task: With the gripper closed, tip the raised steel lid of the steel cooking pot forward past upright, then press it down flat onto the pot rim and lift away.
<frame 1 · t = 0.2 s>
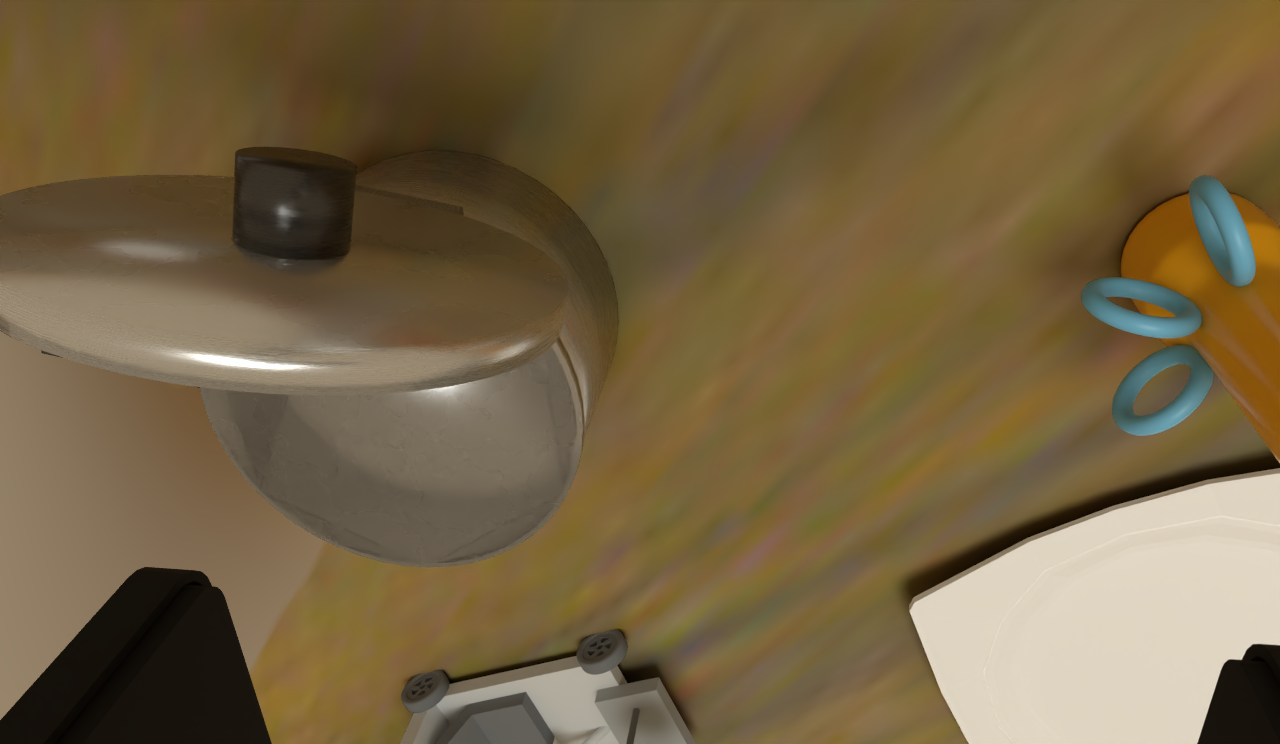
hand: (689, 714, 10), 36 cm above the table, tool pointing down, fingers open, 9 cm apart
lid: (300, 220, 29), point 18 cm above the table, hinge at 100.0°
orange blue upright piece: (1190, 253, 43), on the table
toy car: (573, 707, 63), on the table
pot: (460, 307, 50), on the table
plate: (1179, 653, 54), on the table
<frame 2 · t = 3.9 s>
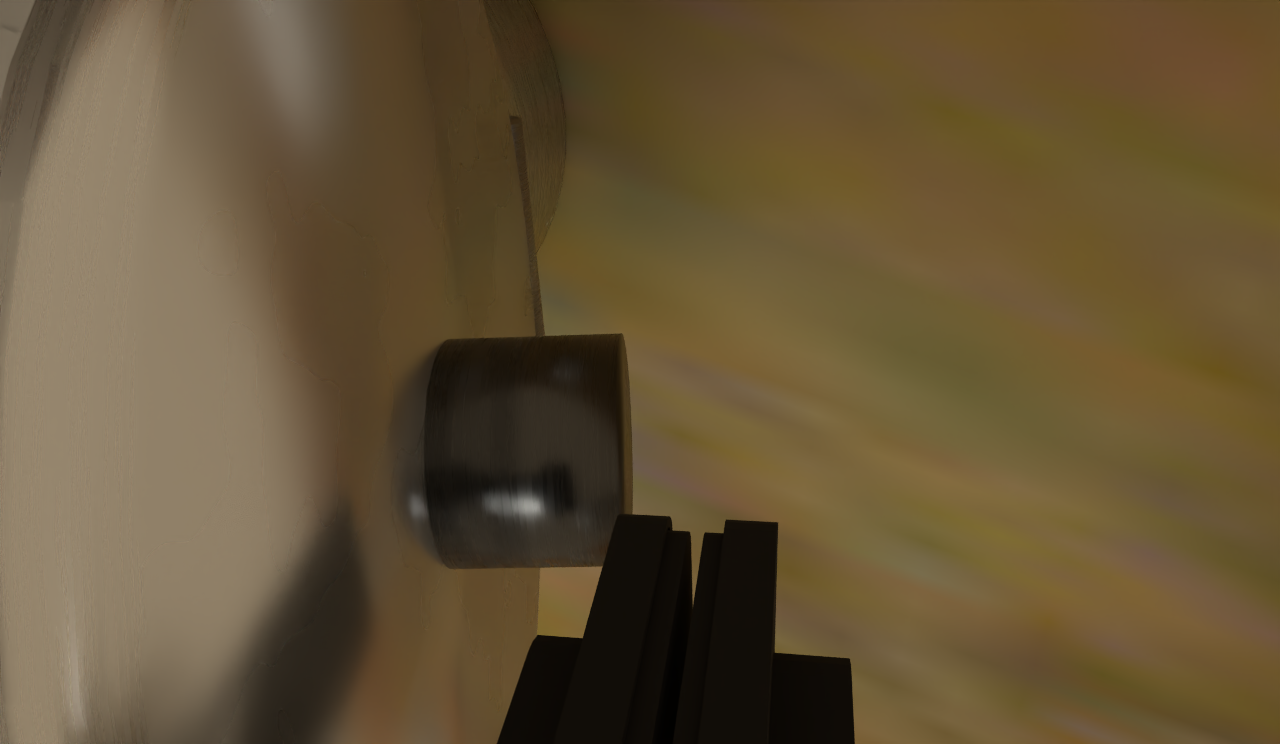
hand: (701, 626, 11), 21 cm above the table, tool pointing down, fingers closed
lid: (501, 434, 14), point 18 cm above the table, hinge at 97.2°, touching gripper
pot: (317, 119, 31), on the table
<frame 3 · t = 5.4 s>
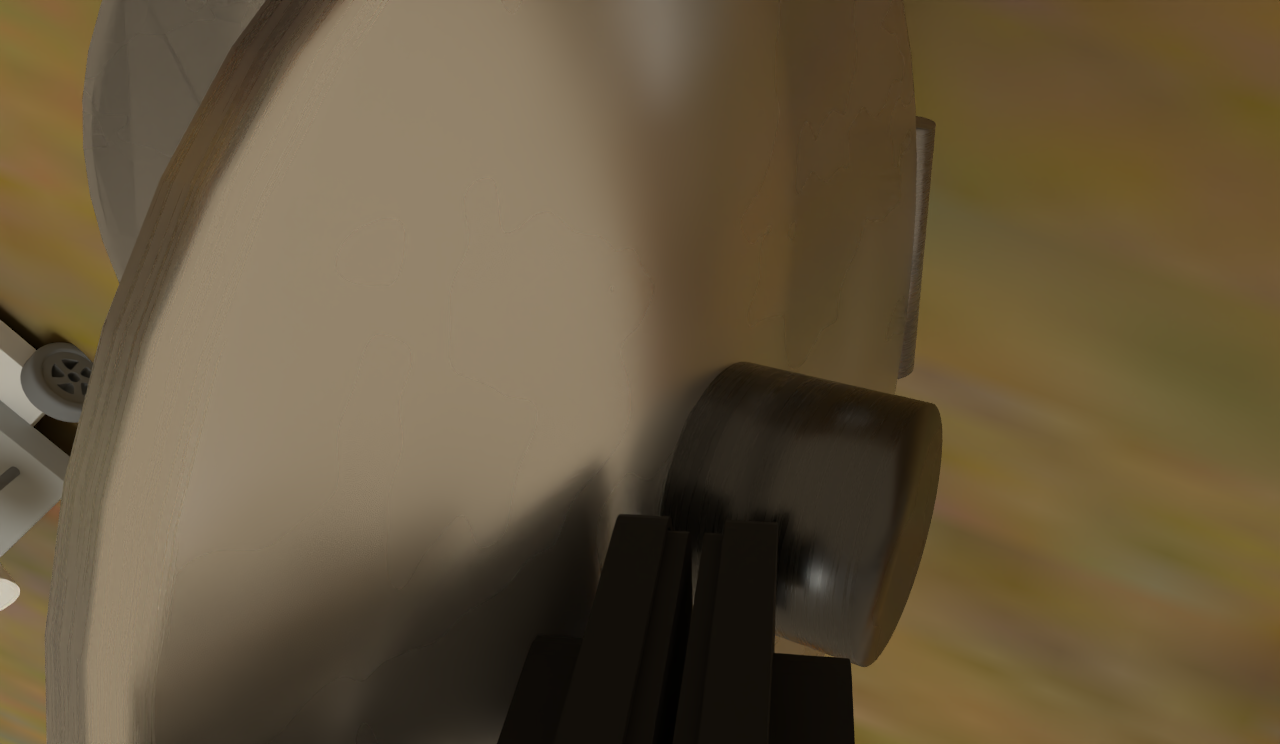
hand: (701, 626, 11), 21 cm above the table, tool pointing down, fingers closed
lid: (777, 475, 13), point 18 cm above the table, hinge at 67.2°, touching gripper
pot: (556, 116, 30), on the table
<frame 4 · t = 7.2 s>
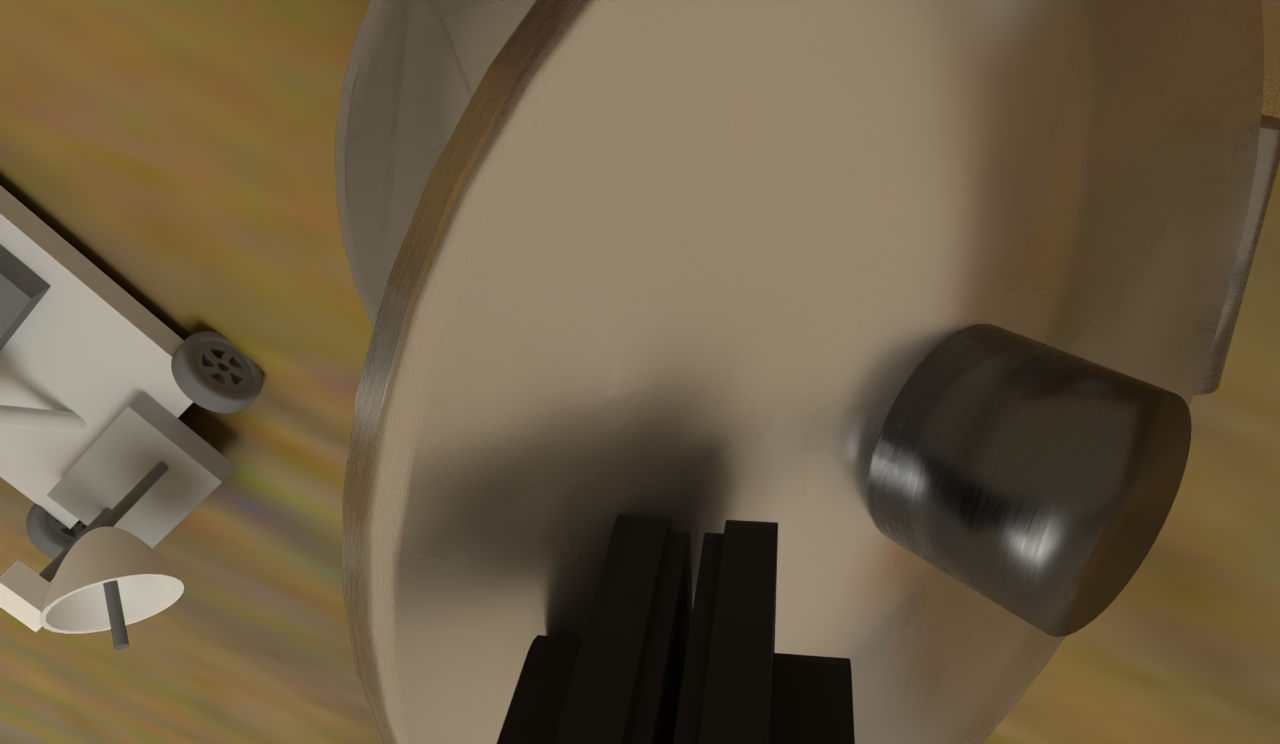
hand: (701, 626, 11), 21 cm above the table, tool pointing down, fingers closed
lid: (1006, 441, 13), point 17 cm above the table, hinge at 45.7°, touching gripper
toy car: (58, 341, 37), on the table
pot: (751, 110, 29), on the table
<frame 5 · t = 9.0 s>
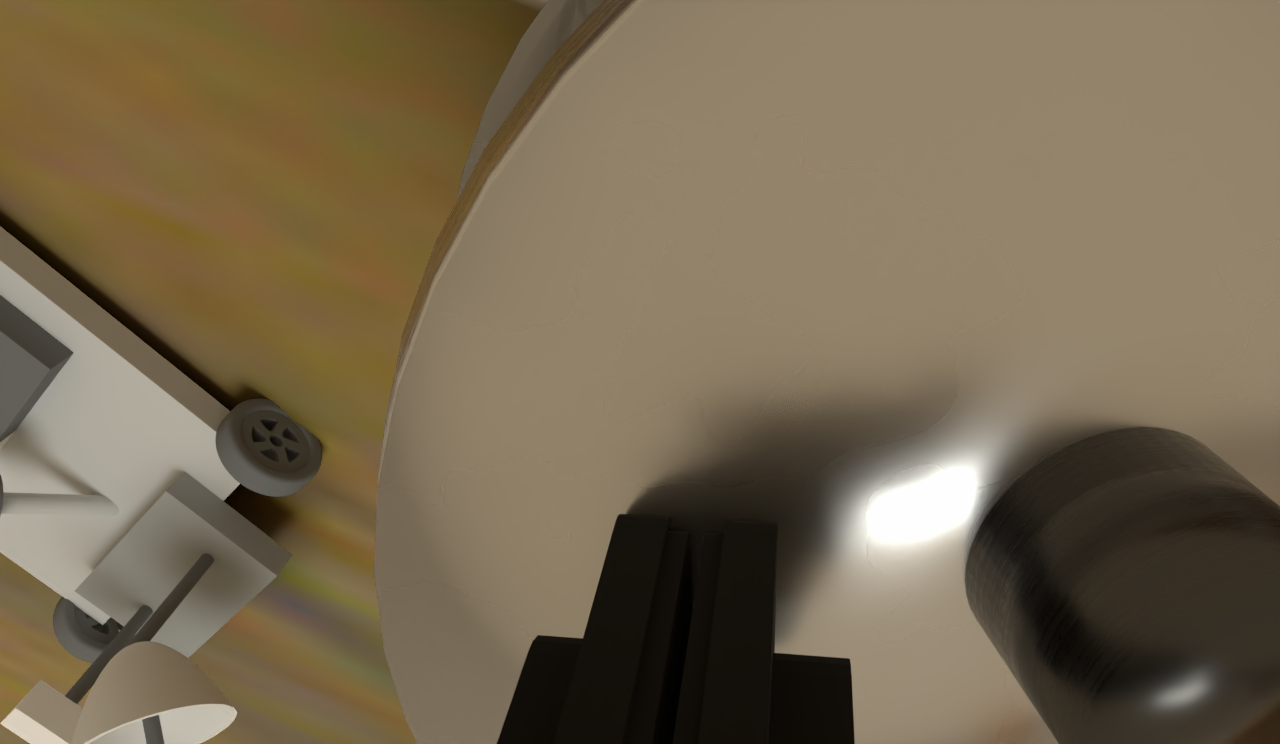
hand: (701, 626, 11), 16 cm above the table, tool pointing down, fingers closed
lid: (1167, 575, 11), point 14 cm above the table, hinge at 18.0°, touching gripper
toy car: (84, 410, 32), on the table
pot: (918, 171, 23), on the table
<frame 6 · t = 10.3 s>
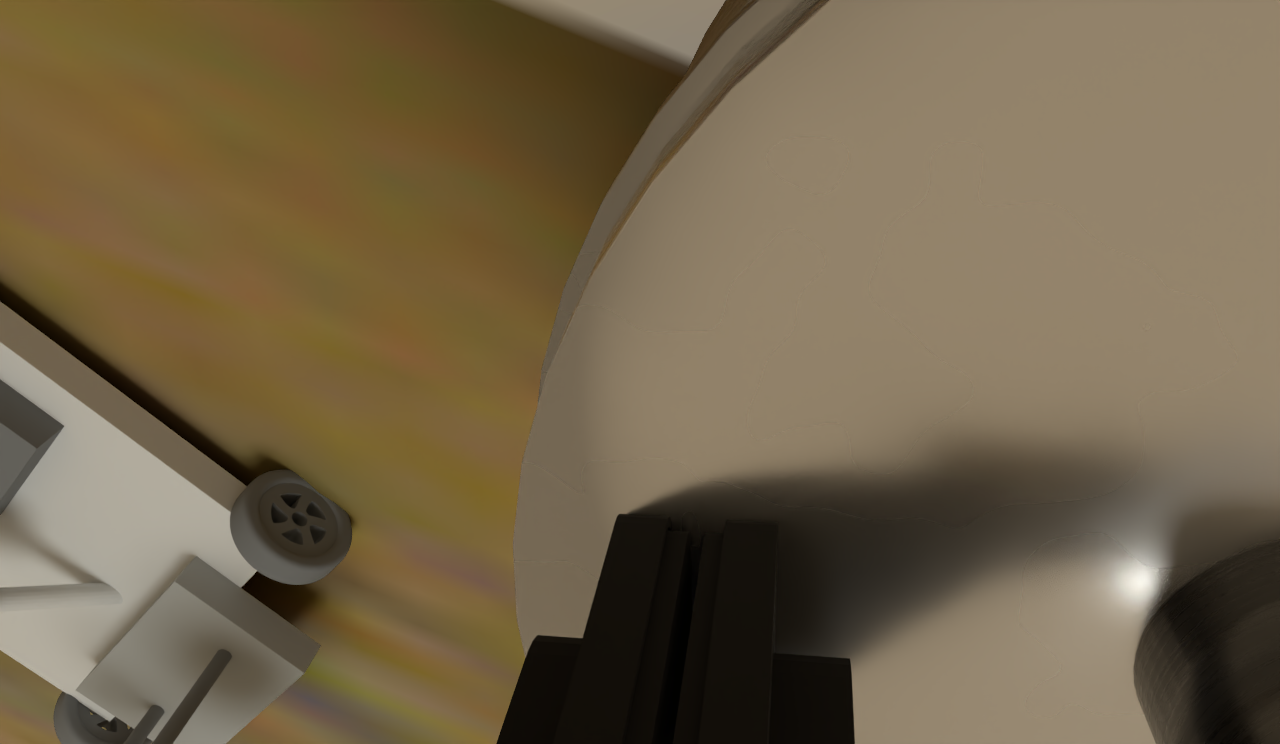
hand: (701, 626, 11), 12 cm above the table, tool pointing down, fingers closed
toy car: (82, 483, 28), on the table
pot: (1055, 234, 20), on the table
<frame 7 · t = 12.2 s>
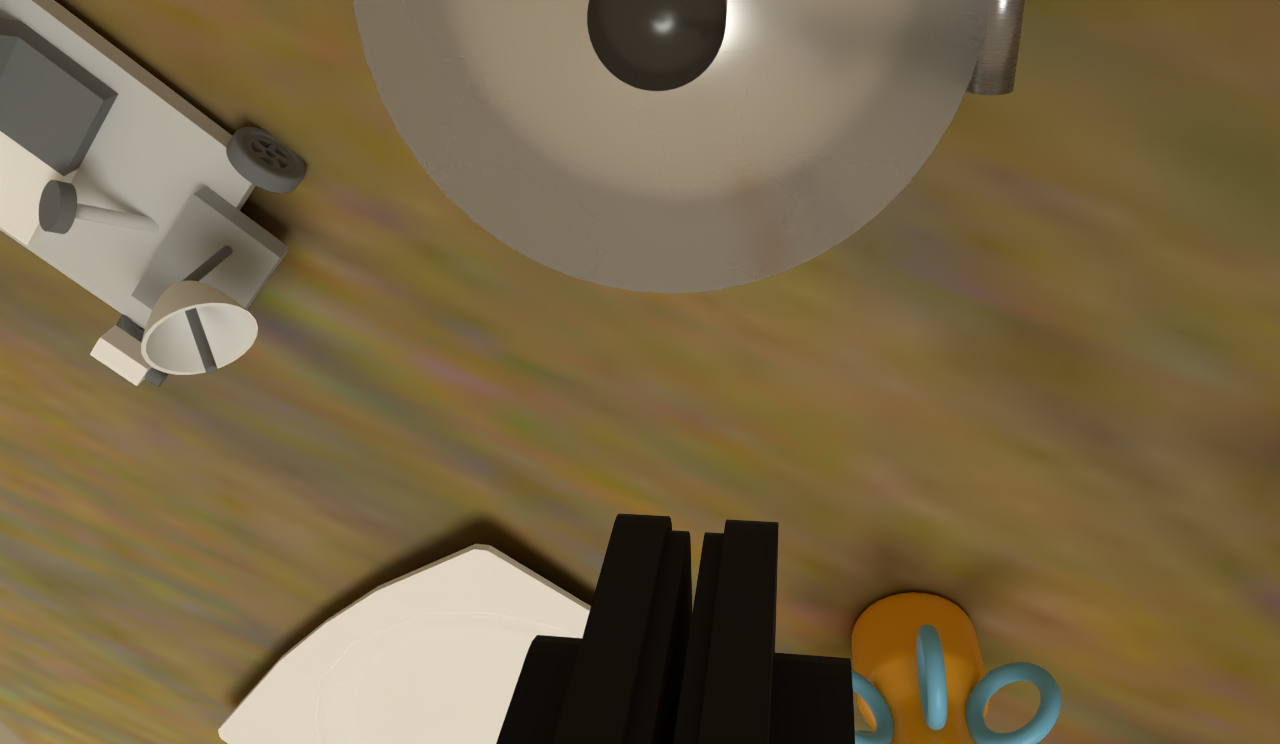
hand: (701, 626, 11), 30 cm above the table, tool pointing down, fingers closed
lid: (679, 6, 24), point 12 cm above the table, hinge at 1.5°
orange blue upright piece: (910, 632, 50), on the table
toy car: (126, 164, 42), on the table
plate: (502, 727, 57), on the table
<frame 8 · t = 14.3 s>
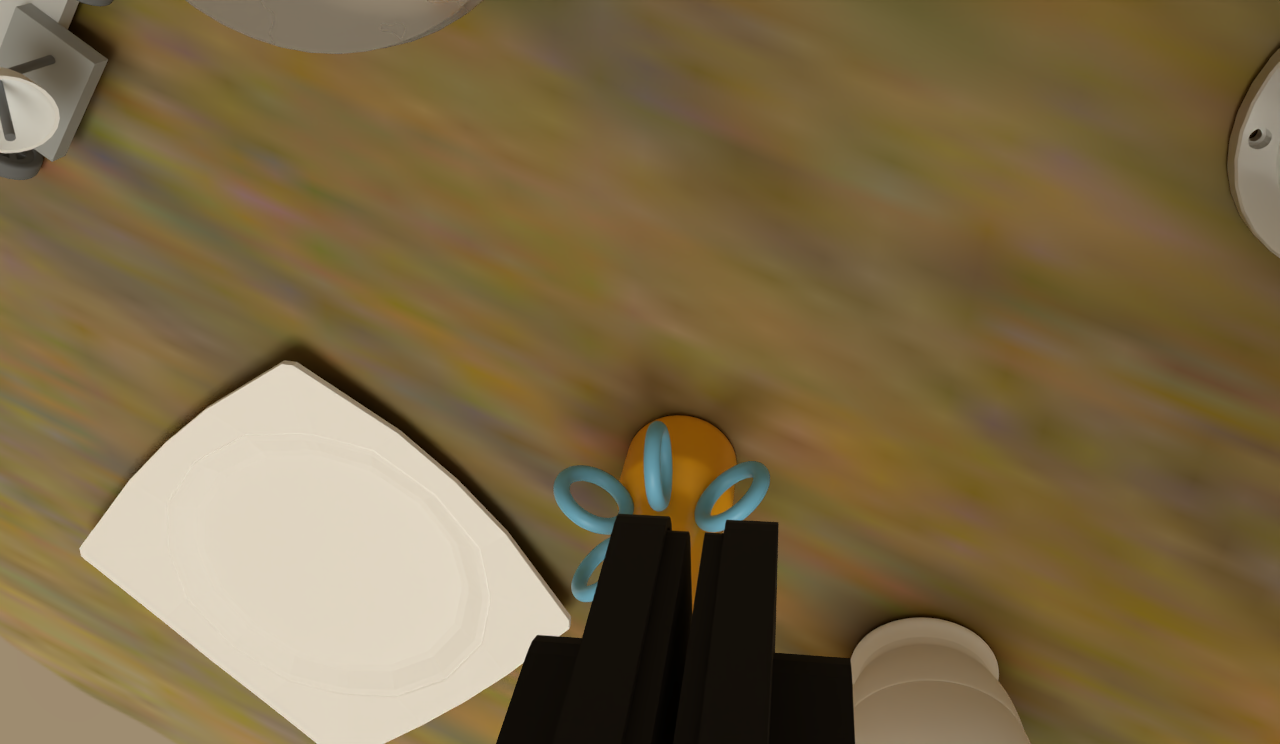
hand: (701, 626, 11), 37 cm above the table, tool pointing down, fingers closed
orange blue upright piece: (682, 457, 55), on the table
jar: (922, 664, 59), on the table
plate: (337, 557, 63), on the table
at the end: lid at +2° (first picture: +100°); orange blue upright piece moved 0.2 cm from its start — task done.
